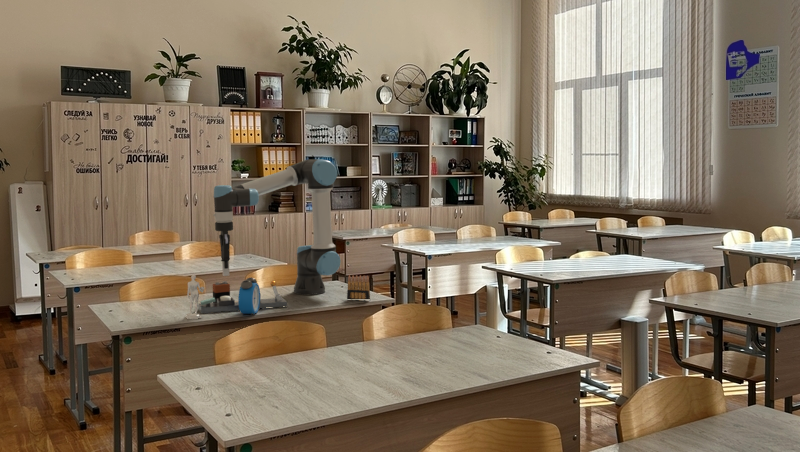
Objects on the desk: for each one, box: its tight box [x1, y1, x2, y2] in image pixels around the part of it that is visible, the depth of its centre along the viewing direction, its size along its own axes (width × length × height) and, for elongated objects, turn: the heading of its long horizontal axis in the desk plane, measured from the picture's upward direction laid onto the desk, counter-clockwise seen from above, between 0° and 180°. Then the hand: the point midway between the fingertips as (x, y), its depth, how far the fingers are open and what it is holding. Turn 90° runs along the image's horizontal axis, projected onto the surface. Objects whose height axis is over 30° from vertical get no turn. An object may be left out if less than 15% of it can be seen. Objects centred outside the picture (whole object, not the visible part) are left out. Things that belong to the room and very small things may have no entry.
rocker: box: [199, 297, 216, 305], centre depth 317 cm, size 6×3×1 cm, turn 111°
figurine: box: [184, 274, 205, 320], centre depth 304 cm, size 8×7×18 cm
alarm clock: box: [237, 277, 261, 315], centre depth 312 cm, size 13×6×15 cm, turn 176°
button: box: [220, 295, 231, 301], centre depth 320 cm, size 4×4×3 cm
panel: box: [198, 293, 288, 314], centre depth 323 cm, size 37×9×5 cm, turn 111°
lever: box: [270, 280, 279, 299], centre depth 327 cm, size 3×3×8 cm
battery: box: [212, 280, 231, 303], centre depth 332 cm, size 4×7×10 cm, turn 121°
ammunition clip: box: [346, 274, 371, 300], centre depth 340 cm, size 11×2×12 cm, turn 76°
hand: (226, 275), depth 319 cm, fingers closed
